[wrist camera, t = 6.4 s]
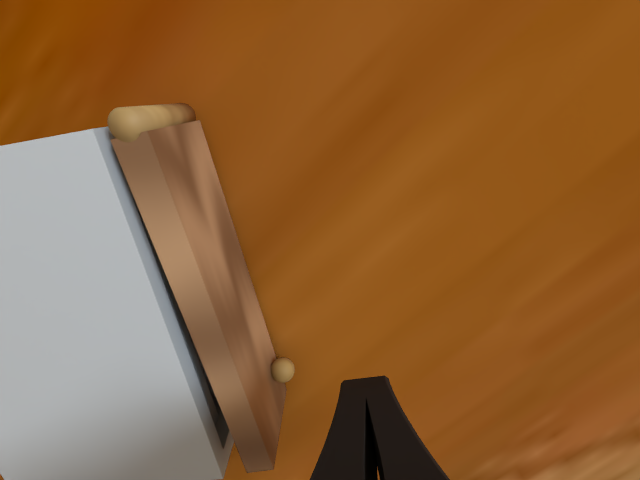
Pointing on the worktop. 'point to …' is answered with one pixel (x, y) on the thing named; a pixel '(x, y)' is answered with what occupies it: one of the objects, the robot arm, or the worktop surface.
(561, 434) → the worktop surface
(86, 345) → the cabinet
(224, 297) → the door
